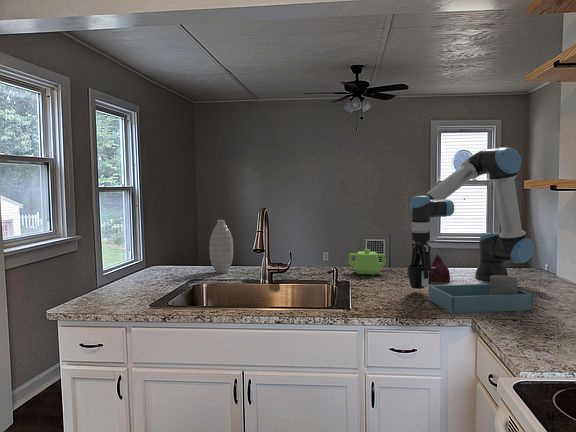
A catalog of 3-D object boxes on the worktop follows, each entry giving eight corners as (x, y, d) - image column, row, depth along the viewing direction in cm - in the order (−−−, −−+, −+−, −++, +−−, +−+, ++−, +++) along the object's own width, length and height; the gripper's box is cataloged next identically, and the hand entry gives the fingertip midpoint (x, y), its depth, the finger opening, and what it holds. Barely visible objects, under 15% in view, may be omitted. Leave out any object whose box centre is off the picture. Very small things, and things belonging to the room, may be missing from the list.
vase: (236, 270, 260) (236, 219, 258) (228, 275, 248) (228, 221, 246) (215, 269, 263) (214, 219, 261) (206, 274, 251) (205, 221, 249)
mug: (435, 290, 199) (435, 268, 199) (406, 288, 204) (406, 266, 203) (437, 286, 207) (437, 264, 206) (409, 284, 211) (409, 263, 211)
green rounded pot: (348, 269, 264) (348, 246, 263) (384, 270, 261) (385, 246, 260) (347, 275, 246) (347, 250, 245) (387, 276, 243) (387, 251, 242)
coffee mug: (520, 306, 179) (521, 280, 179) (493, 306, 181) (494, 280, 180) (509, 298, 193) (509, 273, 192) (483, 297, 194) (484, 273, 193)
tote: (502, 297, 198) (502, 283, 198) (532, 310, 178) (533, 294, 178) (429, 300, 194) (429, 285, 194) (451, 313, 174) (452, 297, 174)
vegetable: (442, 290, 226) (442, 261, 221) (423, 283, 234) (423, 256, 229) (454, 281, 232) (454, 253, 227) (435, 276, 240) (435, 248, 235)
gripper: (403, 229, 214) (403, 279, 216) (422, 234, 193) (422, 289, 195) (419, 228, 215) (419, 278, 217) (439, 234, 194) (439, 288, 196)
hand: (420, 283), depth 206 cm, fingers closed on mug, 8 cm apart
